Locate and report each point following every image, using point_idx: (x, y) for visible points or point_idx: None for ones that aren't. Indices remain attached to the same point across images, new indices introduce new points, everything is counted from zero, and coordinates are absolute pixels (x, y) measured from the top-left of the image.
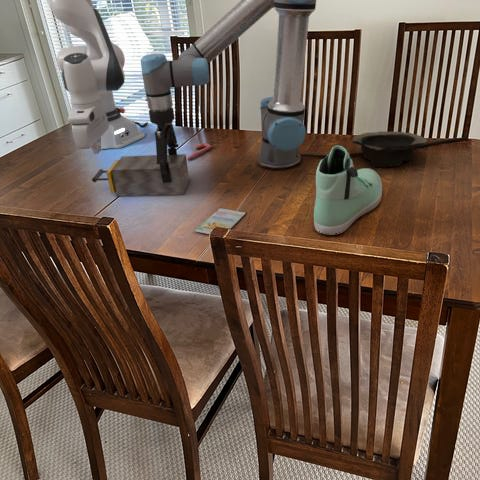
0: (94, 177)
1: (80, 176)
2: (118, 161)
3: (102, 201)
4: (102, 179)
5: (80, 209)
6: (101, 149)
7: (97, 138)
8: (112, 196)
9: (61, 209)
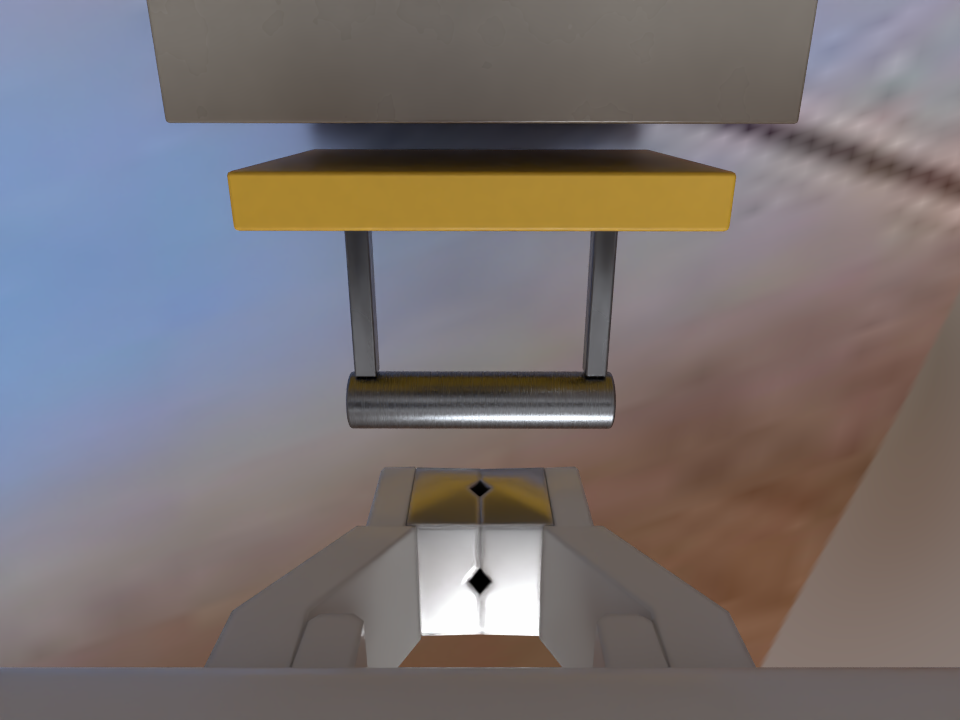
0: (603, 407)
1: (200, 607)
2: (410, 115)
3: (746, 243)
4: (609, 306)
5: (868, 391)
6: (396, 471)
7: (767, 709)
8: None
9: (827, 537)
